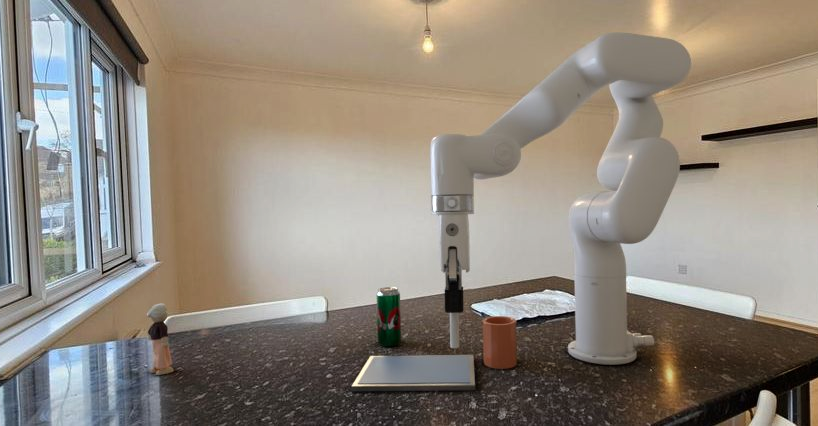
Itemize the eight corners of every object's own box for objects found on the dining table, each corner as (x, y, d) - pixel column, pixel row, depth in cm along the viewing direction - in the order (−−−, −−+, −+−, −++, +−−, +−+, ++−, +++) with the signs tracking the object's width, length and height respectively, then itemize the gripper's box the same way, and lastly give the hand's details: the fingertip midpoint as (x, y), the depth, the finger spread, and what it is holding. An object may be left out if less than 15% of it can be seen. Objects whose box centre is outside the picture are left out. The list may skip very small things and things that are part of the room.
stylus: (459, 345, 76) (458, 278, 76) (459, 348, 75) (458, 279, 75) (450, 345, 76) (449, 278, 76) (450, 348, 75) (449, 279, 75)
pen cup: (514, 356, 83) (513, 315, 83) (519, 368, 77) (518, 324, 77) (483, 357, 84) (482, 316, 83) (484, 369, 77) (483, 325, 77)
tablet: (473, 359, 83) (473, 354, 83) (475, 390, 69) (475, 384, 69) (370, 360, 83) (370, 355, 83) (351, 391, 69) (351, 385, 69)
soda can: (403, 340, 96) (401, 286, 95) (398, 347, 90) (397, 291, 90) (381, 340, 96) (379, 286, 96) (375, 347, 91) (373, 291, 91)
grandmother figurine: (184, 369, 81) (181, 303, 81) (163, 377, 77) (160, 307, 77) (158, 364, 84) (156, 300, 84) (137, 371, 81) (135, 304, 81)
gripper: (475, 205, 67) (477, 322, 67) (473, 206, 83) (474, 300, 83) (427, 206, 68) (429, 322, 68) (434, 206, 83) (436, 301, 83)
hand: (454, 310), depth 75 cm, fingers closed on stylus, 1 cm apart
